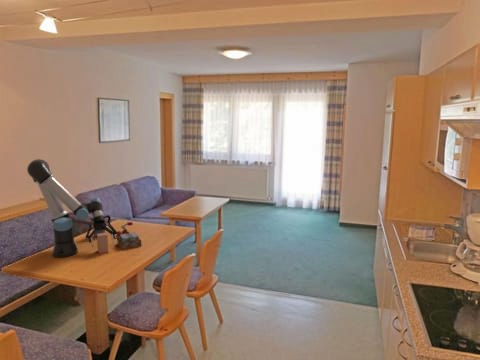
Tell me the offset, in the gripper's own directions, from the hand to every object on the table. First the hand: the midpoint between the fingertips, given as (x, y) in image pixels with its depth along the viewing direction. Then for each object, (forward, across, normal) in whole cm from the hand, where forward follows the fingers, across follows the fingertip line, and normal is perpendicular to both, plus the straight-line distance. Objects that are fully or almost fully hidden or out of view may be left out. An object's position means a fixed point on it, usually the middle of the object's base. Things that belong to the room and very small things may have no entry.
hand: (103, 244), depth 246 cm
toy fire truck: (-19, -20, -26) cm, 38 cm away
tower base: (-1, -18, -8) cm, 20 cm away
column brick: (+2, 0, -5) cm, 6 cm away
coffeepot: (-25, -4, -33) cm, 42 cm away
